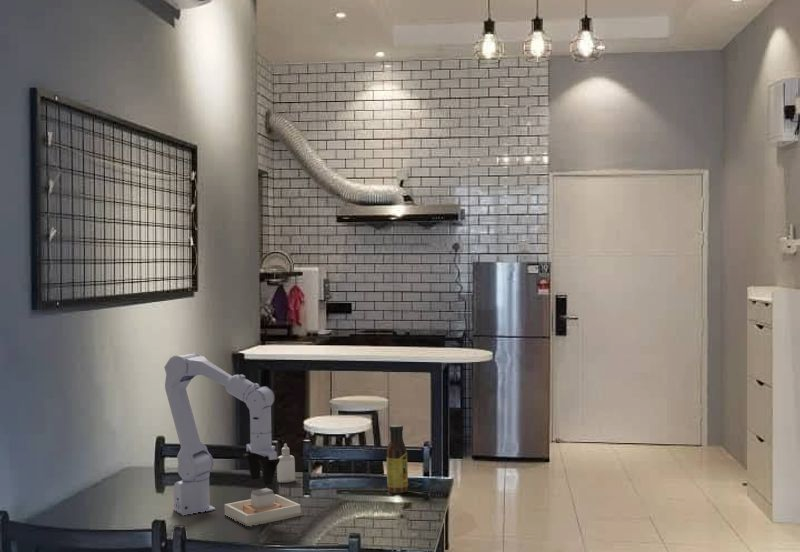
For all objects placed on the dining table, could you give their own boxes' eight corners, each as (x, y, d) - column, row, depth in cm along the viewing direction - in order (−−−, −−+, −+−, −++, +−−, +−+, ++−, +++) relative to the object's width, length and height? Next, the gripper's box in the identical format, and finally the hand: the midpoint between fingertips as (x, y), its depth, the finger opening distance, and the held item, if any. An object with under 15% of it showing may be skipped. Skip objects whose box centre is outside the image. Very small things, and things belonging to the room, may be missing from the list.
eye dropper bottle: (291, 483, 264) (290, 445, 264) (275, 482, 265) (274, 444, 265) (297, 480, 268) (296, 442, 268) (280, 479, 270) (280, 442, 269)
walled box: (247, 527, 219) (246, 515, 219) (224, 515, 231) (224, 504, 231) (300, 515, 229) (300, 504, 229) (276, 504, 240) (276, 494, 240)
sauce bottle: (407, 494, 248) (406, 427, 248) (386, 494, 249) (385, 427, 248) (408, 488, 255) (406, 423, 255) (387, 488, 255) (386, 423, 255)
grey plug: (257, 515, 227) (257, 493, 227) (251, 512, 230) (250, 490, 230) (274, 512, 230) (273, 490, 230) (267, 509, 233) (267, 487, 233)
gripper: (286, 434, 226) (287, 484, 226) (262, 426, 238) (262, 474, 238) (262, 437, 222) (263, 488, 222) (239, 429, 234) (240, 478, 234)
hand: (261, 481), depth 230 cm, fingers open, 7 cm apart
